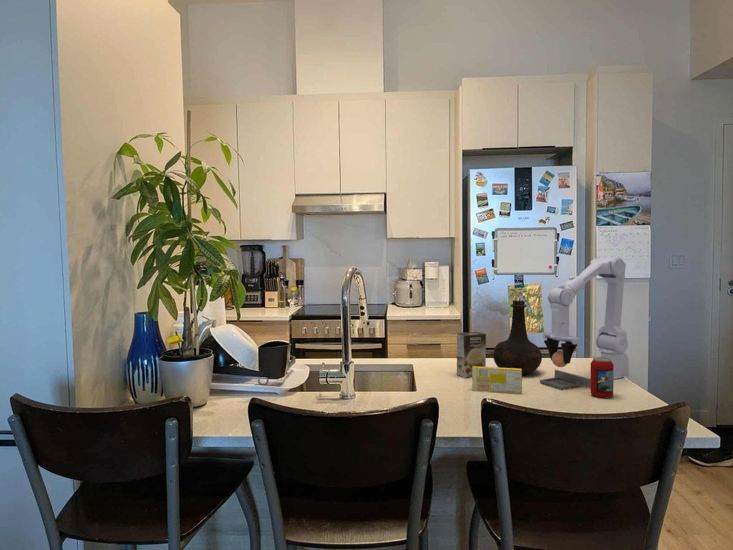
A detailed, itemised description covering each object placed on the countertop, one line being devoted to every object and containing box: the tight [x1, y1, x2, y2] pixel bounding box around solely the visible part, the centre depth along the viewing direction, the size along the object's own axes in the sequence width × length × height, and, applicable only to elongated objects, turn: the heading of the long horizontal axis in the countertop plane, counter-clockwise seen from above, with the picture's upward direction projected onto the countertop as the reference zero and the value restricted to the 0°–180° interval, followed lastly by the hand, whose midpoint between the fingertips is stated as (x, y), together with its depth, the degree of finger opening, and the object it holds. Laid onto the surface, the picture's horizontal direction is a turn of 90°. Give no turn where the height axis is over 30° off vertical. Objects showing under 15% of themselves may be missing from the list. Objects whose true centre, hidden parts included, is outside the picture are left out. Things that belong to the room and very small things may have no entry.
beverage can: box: [589, 356, 615, 399], centre depth 167 cm, size 7×7×12 cm
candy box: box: [471, 366, 523, 395], centre depth 174 cm, size 16×2×8 cm, turn 71°
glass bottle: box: [492, 299, 543, 376], centre depth 199 cm, size 18×18×28 cm
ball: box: [551, 350, 568, 368], centre depth 181 cm, size 6×6×6 cm
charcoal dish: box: [539, 376, 582, 391], centre depth 181 cm, size 9×10×1 cm
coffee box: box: [456, 331, 487, 379], centre depth 196 cm, size 9×6×16 cm
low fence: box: [554, 369, 590, 389], centre depth 184 cm, size 1×16×3 cm, turn 26°
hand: (560, 361), depth 181 cm, fingers closed on ball, 5 cm apart
